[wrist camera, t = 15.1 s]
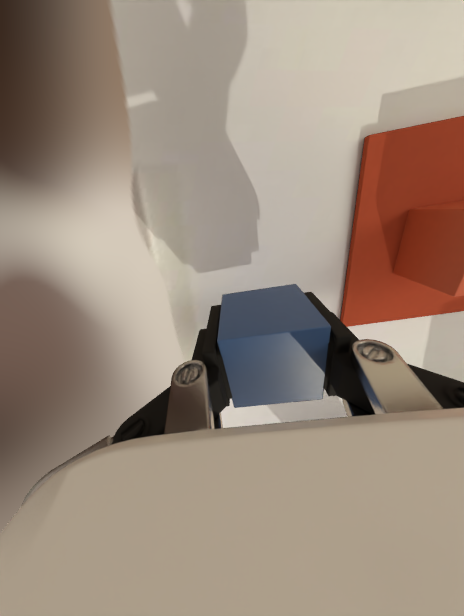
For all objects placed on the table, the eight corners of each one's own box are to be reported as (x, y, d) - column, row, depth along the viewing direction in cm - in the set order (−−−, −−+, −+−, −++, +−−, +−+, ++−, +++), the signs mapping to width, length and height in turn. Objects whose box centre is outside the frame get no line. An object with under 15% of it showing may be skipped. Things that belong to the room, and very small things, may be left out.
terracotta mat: (364, 137, 10) (369, 134, 9) (574, 94, 9) (588, 90, 9) (339, 324, 15) (342, 327, 15) (468, 307, 15) (474, 309, 14)
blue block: (222, 294, 10) (216, 340, 7) (296, 283, 10) (331, 326, 6) (233, 349, 12) (234, 408, 8) (295, 341, 12) (322, 399, 8)
